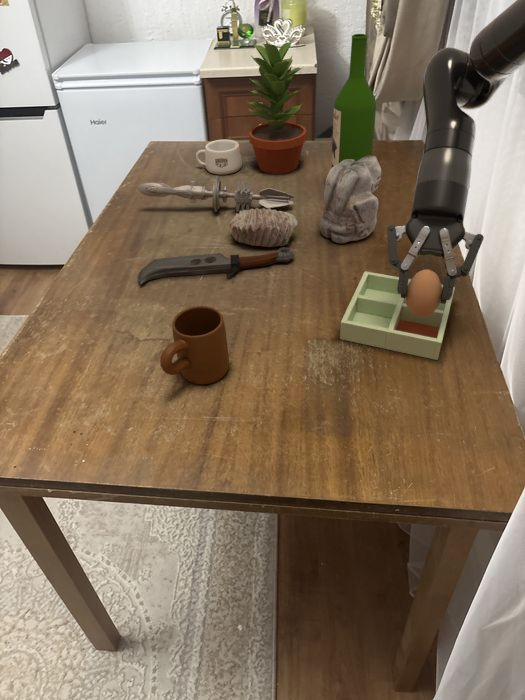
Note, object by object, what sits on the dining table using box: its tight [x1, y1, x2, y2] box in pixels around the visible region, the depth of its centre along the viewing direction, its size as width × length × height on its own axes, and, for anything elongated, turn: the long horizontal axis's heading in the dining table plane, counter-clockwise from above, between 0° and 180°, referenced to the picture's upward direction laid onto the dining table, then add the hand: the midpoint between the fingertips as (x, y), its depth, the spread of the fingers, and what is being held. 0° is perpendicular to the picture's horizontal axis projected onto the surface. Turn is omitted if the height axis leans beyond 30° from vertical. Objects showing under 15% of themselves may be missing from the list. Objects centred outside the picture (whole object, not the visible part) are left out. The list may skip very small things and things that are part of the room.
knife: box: [137, 246, 295, 285], centre depth 103 cm, size 9×2×30 cm
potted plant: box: [246, 37, 307, 175], centre depth 131 cm, size 15×15×30 cm
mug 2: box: [195, 138, 243, 176], centre depth 139 cm, size 12×10×6 cm
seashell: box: [229, 207, 299, 248], centre depth 109 cm, size 14×9×10 cm
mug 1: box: [159, 305, 230, 385], centre depth 78 cm, size 12×8×9 cm, turn 147°
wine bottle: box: [331, 33, 377, 168], centre depth 117 cm, size 9×9×32 cm
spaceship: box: [137, 175, 295, 213], centre depth 120 cm, size 8×35×8 cm
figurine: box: [319, 154, 382, 244], centre depth 108 cm, size 10×11×15 cm
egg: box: [405, 268, 442, 317], centre depth 80 cm, size 5×5×8 cm
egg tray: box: [339, 270, 456, 361], centre depth 88 cm, size 15×15×4 cm
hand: (423, 299), depth 79 cm, fingers closed on egg, 5 cm apart
